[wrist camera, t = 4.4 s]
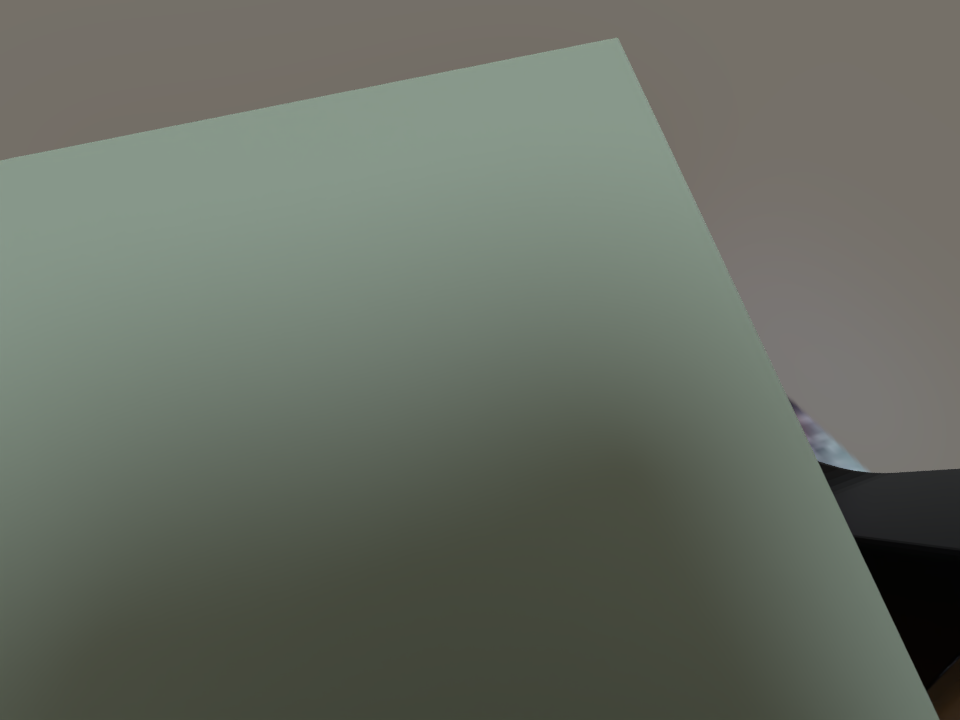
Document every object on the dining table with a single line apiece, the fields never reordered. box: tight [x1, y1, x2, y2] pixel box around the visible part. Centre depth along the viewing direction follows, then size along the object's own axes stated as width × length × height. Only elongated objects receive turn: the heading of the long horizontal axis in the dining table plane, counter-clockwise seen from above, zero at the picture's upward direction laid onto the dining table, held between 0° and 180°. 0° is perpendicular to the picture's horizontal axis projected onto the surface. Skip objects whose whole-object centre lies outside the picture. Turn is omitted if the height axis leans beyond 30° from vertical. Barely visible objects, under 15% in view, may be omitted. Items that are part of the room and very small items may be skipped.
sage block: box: [0, 38, 939, 720], centre depth 9 cm, size 5×5×14 cm
